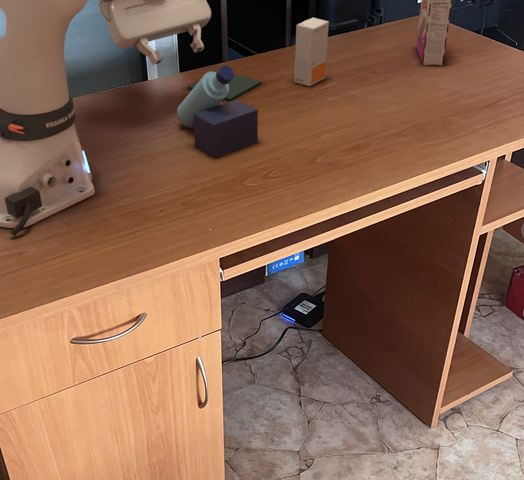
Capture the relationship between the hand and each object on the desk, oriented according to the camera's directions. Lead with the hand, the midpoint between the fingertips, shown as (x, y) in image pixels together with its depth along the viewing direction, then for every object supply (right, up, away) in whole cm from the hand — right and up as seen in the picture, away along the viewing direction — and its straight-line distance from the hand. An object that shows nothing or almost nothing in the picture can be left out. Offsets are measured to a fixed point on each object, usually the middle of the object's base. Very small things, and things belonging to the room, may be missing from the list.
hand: (179, 56), depth 144 cm
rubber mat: (+7, +1, +21) cm, 22 cm away
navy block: (+9, -16, 0) cm, 18 cm away
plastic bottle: (+5, -13, +4) cm, 15 cm away
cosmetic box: (+25, +3, +24) cm, 35 cm away
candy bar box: (+53, +12, +35) cm, 65 cm away
